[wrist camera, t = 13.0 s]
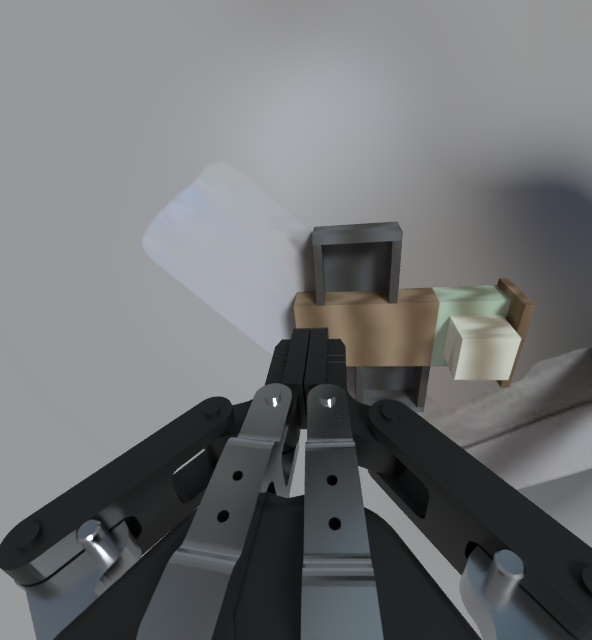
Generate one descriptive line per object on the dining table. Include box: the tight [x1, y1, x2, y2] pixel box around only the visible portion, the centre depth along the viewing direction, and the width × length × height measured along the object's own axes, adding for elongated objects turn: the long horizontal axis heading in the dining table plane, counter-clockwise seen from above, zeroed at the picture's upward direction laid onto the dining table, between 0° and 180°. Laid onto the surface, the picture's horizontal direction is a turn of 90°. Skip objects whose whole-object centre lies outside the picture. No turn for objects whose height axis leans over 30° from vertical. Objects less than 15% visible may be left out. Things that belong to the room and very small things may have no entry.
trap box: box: [294, 222, 536, 412], centre depth 43 cm, size 27×28×7 cm
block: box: [443, 315, 521, 380], centre depth 40 cm, size 6×6×5 cm
